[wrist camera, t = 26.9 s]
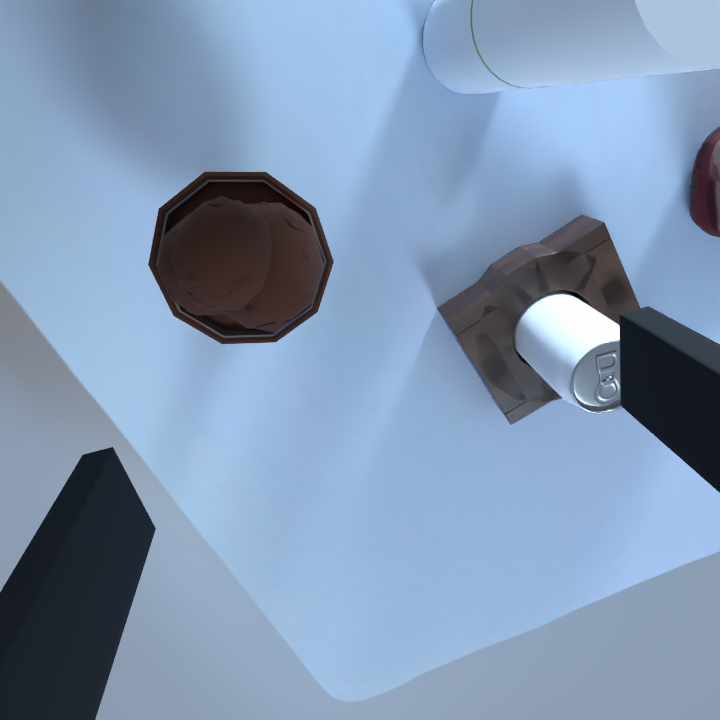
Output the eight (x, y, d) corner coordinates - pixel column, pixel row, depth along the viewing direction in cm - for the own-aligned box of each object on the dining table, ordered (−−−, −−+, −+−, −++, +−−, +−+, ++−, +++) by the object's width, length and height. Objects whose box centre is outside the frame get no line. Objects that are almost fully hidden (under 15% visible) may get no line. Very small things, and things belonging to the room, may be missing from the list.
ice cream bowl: (167, 280, 42) (110, 359, 29) (197, 134, 38) (147, 146, 25) (298, 315, 45) (302, 404, 31) (339, 182, 41) (364, 217, 27)
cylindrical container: (524, 83, 39) (844, 43, 17) (430, 103, 39) (625, 90, 17) (518, -34, 36) (901, -276, 14) (415, -12, 36) (632, -222, 13)
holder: (432, 302, 46) (443, 316, 42) (578, 207, 44) (601, 214, 41) (500, 410, 51) (514, 430, 48) (632, 330, 49) (656, 345, 46)
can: (505, 358, 49) (567, 429, 38) (497, 292, 46) (561, 348, 35) (573, 340, 49) (654, 405, 38) (569, 273, 46) (656, 323, 35)
